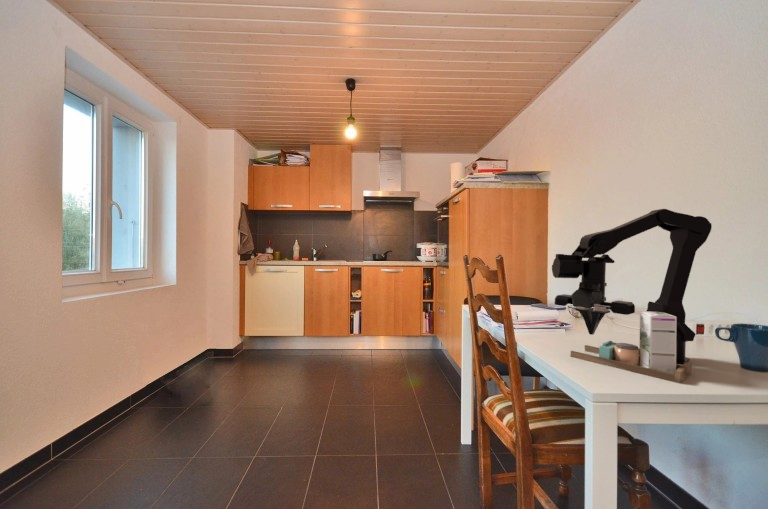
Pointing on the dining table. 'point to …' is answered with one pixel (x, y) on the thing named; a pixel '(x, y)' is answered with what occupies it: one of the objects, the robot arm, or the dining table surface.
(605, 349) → the block
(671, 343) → the syrup box
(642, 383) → the dining table surface
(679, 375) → the lane
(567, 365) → the dining table surface
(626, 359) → the jar
